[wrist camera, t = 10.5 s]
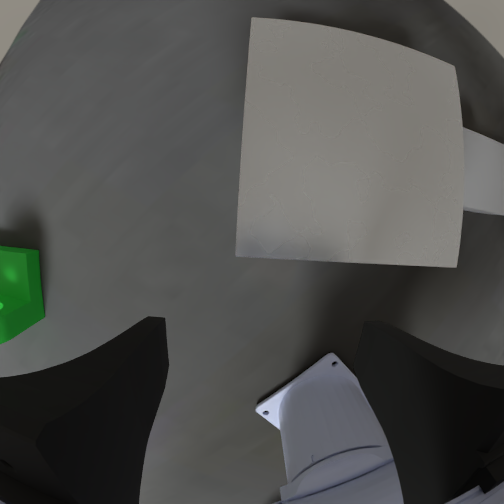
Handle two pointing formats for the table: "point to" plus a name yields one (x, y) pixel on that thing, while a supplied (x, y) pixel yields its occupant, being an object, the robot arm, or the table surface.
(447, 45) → the table surface
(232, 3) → the table surface
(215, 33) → the table surface
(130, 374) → the robot arm
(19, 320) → the mechanical part
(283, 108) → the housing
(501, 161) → the rod with pink block
